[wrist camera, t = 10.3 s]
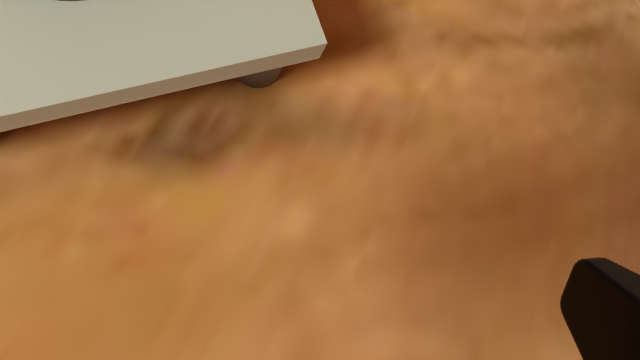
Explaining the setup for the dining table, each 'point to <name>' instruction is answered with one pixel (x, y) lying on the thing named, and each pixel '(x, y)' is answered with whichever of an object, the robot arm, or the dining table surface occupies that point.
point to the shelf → (141, 50)
